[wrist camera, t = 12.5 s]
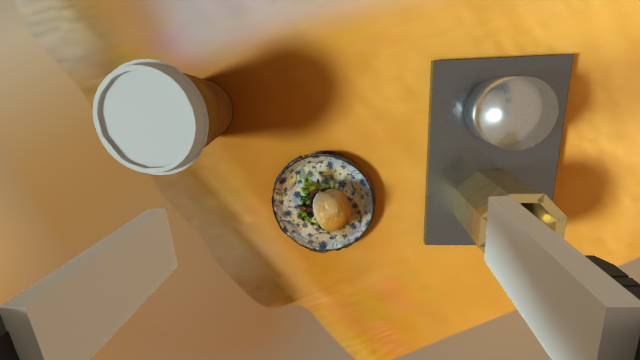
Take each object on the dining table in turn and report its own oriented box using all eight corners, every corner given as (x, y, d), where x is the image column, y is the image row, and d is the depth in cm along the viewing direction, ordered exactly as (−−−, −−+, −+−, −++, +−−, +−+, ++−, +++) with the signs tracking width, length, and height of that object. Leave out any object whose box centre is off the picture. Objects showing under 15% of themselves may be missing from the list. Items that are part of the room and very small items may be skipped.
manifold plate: (431, 61, 36) (445, 57, 30) (567, 54, 34) (610, 49, 29) (423, 240, 41) (434, 267, 35) (541, 241, 40) (572, 268, 34)
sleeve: (457, 170, 37) (483, 194, 30) (526, 169, 37) (571, 193, 29) (453, 231, 39) (476, 267, 32) (518, 231, 39) (558, 268, 31)
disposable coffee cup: (156, 69, 39) (72, 64, 27) (240, 60, 38) (189, 52, 26) (174, 153, 41) (103, 182, 30) (252, 148, 40) (210, 175, 29)
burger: (271, 151, 40) (252, 167, 33) (374, 148, 39) (379, 164, 32) (279, 246, 44) (264, 279, 36) (375, 246, 42) (379, 280, 35)
